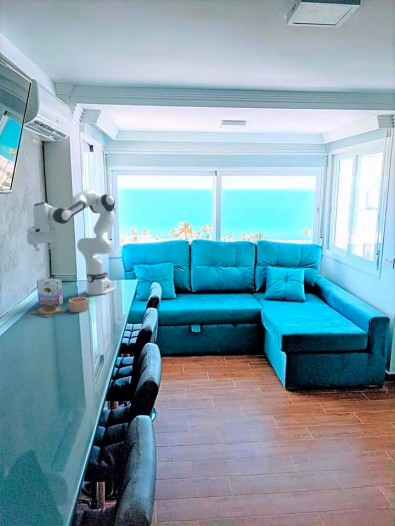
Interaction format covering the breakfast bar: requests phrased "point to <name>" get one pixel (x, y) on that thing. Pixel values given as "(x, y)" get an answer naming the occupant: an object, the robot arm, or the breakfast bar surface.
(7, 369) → the breakfast bar surface
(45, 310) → the walnut lid
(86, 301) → the terracotta bowl
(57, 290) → the candy box
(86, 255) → the robot arm
